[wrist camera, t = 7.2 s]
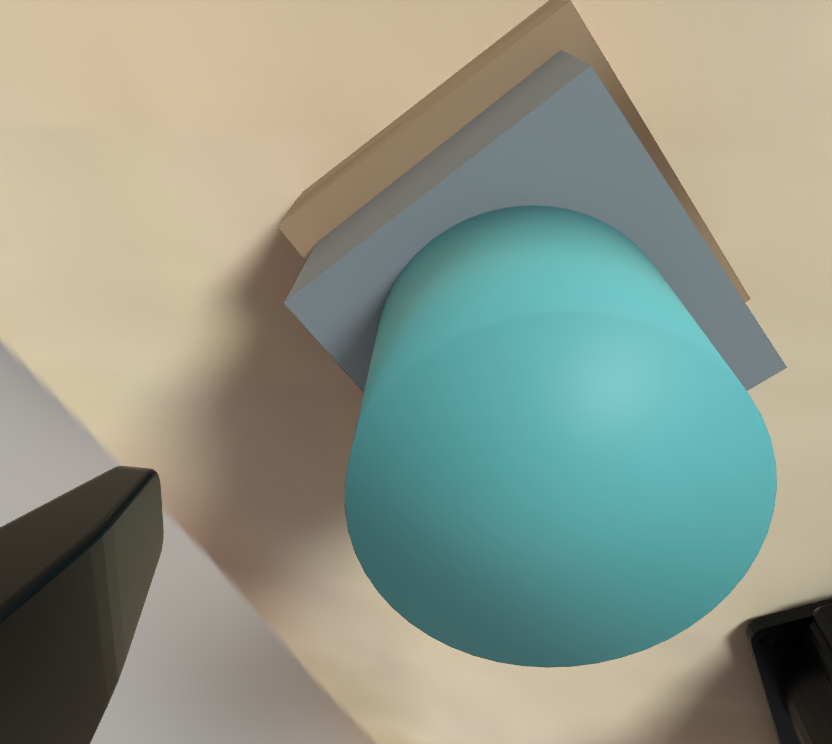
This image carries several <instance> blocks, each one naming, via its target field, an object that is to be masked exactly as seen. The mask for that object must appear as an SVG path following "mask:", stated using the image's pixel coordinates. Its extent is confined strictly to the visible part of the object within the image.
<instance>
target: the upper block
mask: <svg viewBox="0 0 832 744" xmlns="http://www.w3.org/2000/svg"><path fill="white" fill-rule="evenodd" d="M528 205H535V206H553V207H558V208H563V209H569V210H573V211H577V212H580V213H583V214H586V215H589V216H592V217H594V218H596V219H598V220H600V221H602V222H604V223H606V224H608V225H610V226H612V227H613V228H615V229H616V230H618V231H619V232H621V233H622V234H624V235H625V236H627V237H628V238H629V239H630V240H631V241H632V242H633V243H635V244H636V245H637V246H638V247H639V248H640V249H641V250H642V251H643V252H644V253H645V255H646V256H647V257H648V258H649V259H650V261H651V262H652V263H653V264H654V266H655V267H656V268H657V270H658V271H659V272H660V274H661V275H662V277H663V278H664V279H665V281H666V282H667V283H668V285H669V286H670V287H671V289H672V290H673V292H674V293H675V294H676V296H677V297H678V298H679V300H680V301H681V302H682V304H683V305H684V307H685V308H686V309H687V311H688V312H689V313H690V315H691V316H692V317H693V319H694V320H695V321H696V323H697V324H698V326H699V327H700V328H701V330H702V331H703V332H704V334H705V335H706V336H707V338H708V339H709V341H710V342H711V343H712V345H713V346H714V347H715V349H716V350H717V351H718V353H719V354H720V355H721V357H722V358H723V360H724V361H725V362H726V364H727V365H728V366H729V368H730V369H731V370H732V372H733V373H734V375H735V376H736V377H737V379H738V380H739V381H740V383H741V384H742V385H743V387H744V388H745V390H746V391H748V390H749V389H751V388H753V387H754V386H756V385H758V384H760V383H761V382H763V381H765V380H766V379H768V378H770V377H771V376H773V375H775V374H777V373H778V372H780V371H782V370H783V369H785V368H787V367H786V365H785V364H784V362H783V361H782V359H781V358H780V356H779V355H778V353H777V351H776V350H775V348H774V347H773V345H772V344H771V342H770V341H769V339H768V338H767V336H766V334H765V333H764V331H763V330H762V328H761V327H760V325H759V324H758V322H757V321H756V319H755V317H754V316H753V314H752V313H751V311H750V310H749V308H748V307H747V305H746V304H745V302H744V301H743V299H742V297H741V296H740V294H739V293H738V291H737V290H736V288H735V287H734V285H733V284H732V282H731V280H730V279H729V277H728V276H727V274H726V273H725V271H724V270H723V268H722V267H721V265H720V263H719V262H718V260H717V259H716V257H715V256H714V254H713V253H712V251H711V250H710V248H709V247H708V245H707V243H706V242H705V240H704V239H703V237H702V236H701V234H700V233H699V231H698V230H697V228H696V226H695V225H694V223H693V222H692V220H691V219H690V217H689V216H688V214H687V213H686V211H685V209H684V208H683V206H682V205H681V203H680V202H679V200H678V199H677V197H676V196H675V194H674V193H673V191H672V189H671V188H670V186H669V185H668V183H667V182H666V180H665V179H664V177H663V176H662V174H661V172H660V171H659V169H658V168H657V166H656V165H655V163H654V162H653V160H652V159H651V157H650V155H649V154H648V152H647V151H646V149H645V148H644V146H643V145H642V143H641V142H640V140H639V139H638V137H637V135H636V134H635V132H634V131H633V129H632V128H631V126H630V125H629V123H628V122H627V120H626V118H625V117H624V115H623V114H622V112H621V111H620V109H619V108H618V106H617V105H616V103H615V101H614V100H613V98H612V97H611V95H610V94H609V92H608V91H607V89H606V88H605V86H604V85H603V83H602V81H601V80H600V78H599V77H598V75H597V74H596V72H595V71H594V69H593V68H592V66H591V65H589V64H587V63H585V62H583V61H581V60H580V59H578V58H576V57H574V56H572V55H570V54H568V53H566V52H564V51H562V50H560V51H559V52H558V53H556V54H555V55H554V56H553V57H551V58H550V59H549V60H548V61H546V62H545V63H544V64H542V65H541V66H540V67H539V68H537V69H536V70H535V71H534V72H532V73H531V74H530V75H529V76H527V77H526V78H525V79H523V80H522V81H521V82H520V83H518V84H517V85H516V86H515V87H513V88H512V89H511V90H510V91H508V92H507V93H506V94H504V95H503V96H502V97H501V98H499V99H498V100H497V101H496V102H494V103H493V104H492V105H491V106H489V107H488V108H487V109H485V110H484V111H483V112H482V113H480V114H479V115H478V116H477V117H475V118H474V119H473V120H472V121H470V122H469V123H468V124H466V125H465V126H464V127H463V128H461V129H460V130H459V131H458V132H456V133H455V134H454V135H452V136H451V137H450V138H449V139H447V140H446V141H445V142H444V143H442V144H441V145H440V146H439V147H437V148H436V149H435V150H433V151H432V152H431V153H430V154H428V155H427V156H426V157H425V158H423V159H422V160H421V161H420V162H418V163H417V164H416V165H414V166H413V167H412V168H411V169H409V170H408V171H407V172H406V173H404V174H403V175H402V176H401V177H399V178H398V179H397V180H395V181H394V182H393V183H392V184H390V185H389V186H388V187H387V188H385V189H384V190H383V191H382V192H380V193H379V194H378V195H376V196H375V197H374V198H373V199H371V200H370V201H369V202H368V203H366V204H365V205H364V206H363V207H361V208H360V209H359V210H357V211H356V212H355V213H354V214H352V215H351V216H350V217H349V218H347V219H346V220H345V221H344V222H342V223H341V224H340V225H338V226H337V227H336V228H335V229H333V230H332V231H331V232H330V233H328V234H327V235H326V236H325V237H323V238H322V239H321V240H319V241H318V242H317V243H316V244H315V246H314V248H313V250H312V252H311V254H310V255H309V257H308V259H307V261H306V263H305V265H304V266H303V268H302V270H301V272H300V274H299V276H298V278H297V279H296V281H295V283H294V285H293V287H292V289H291V290H290V292H289V294H288V296H287V298H286V300H285V301H284V304H285V305H286V306H287V308H288V309H289V310H290V311H291V312H292V313H293V314H294V315H295V316H296V318H297V319H298V320H299V321H300V322H301V323H302V324H303V325H304V327H305V328H306V329H307V330H308V331H309V332H310V333H311V334H312V335H313V337H314V338H315V339H316V340H317V341H318V342H319V343H320V344H321V345H322V347H323V348H324V349H325V350H326V351H327V352H328V353H329V354H330V356H331V357H332V358H333V359H334V360H335V361H336V362H337V363H338V364H339V366H340V367H341V368H342V369H343V370H344V371H345V372H346V373H347V375H348V376H349V377H350V378H351V379H352V380H353V381H354V382H355V383H356V385H357V386H358V387H359V388H360V389H361V390H362V391H363V392H364V391H365V386H366V382H367V377H368V372H369V368H370V363H371V359H372V354H373V350H374V345H375V341H376V336H377V332H378V327H379V323H380V318H381V315H382V312H383V308H384V305H385V302H386V299H387V297H388V295H389V293H390V291H391V289H392V287H393V285H394V283H395V281H396V280H397V278H398V277H399V275H400V274H401V272H402V271H403V269H404V268H405V266H406V265H407V264H408V263H409V262H410V261H411V259H412V258H413V257H414V256H415V255H416V254H417V253H418V252H419V251H420V250H421V249H422V248H423V247H424V246H425V245H427V244H428V243H429V242H430V241H431V240H432V239H434V238H435V237H437V236H438V235H440V234H441V233H443V232H444V231H446V230H447V229H449V228H450V227H452V226H454V225H456V224H458V223H460V222H462V221H464V220H466V219H468V218H471V217H474V216H477V215H479V214H482V213H485V212H488V211H492V210H497V209H502V208H507V207H515V206H528Z"/></svg>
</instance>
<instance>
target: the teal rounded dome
mask: <svg viewBox="0 0 832 744" xmlns="http://www.w3.org/2000/svg"><path fill="white" fill-rule="evenodd" d="M776 489H777V480H776V461H775V457H774V452H773V447H772V442H771V438H770V436H769V433H768V430H767V428H766V425H765V423H764V420H763V418H762V415H761V414H760V412H759V410H758V409H757V407H756V405H755V404H754V402H753V400H752V399H751V397H750V395H749V394H748V392H747V391H746V390H745V388H744V387H743V385H742V384H741V383H740V381H739V380H738V379H737V377H736V376H735V375H734V373H733V372H732V370H731V369H730V368H729V366H728V365H727V364H726V362H725V361H724V360H723V358H722V357H721V355H720V354H719V353H718V351H717V350H716V349H715V347H714V346H713V345H712V343H711V342H710V341H709V339H708V338H707V336H706V335H705V334H704V332H703V331H702V330H701V328H700V327H699V326H698V324H697V323H696V321H695V320H694V319H693V317H692V316H691V315H690V313H689V312H688V311H687V309H686V308H685V307H684V305H683V304H682V302H681V301H680V300H679V298H678V297H677V296H676V294H675V293H674V292H673V290H672V289H671V287H670V286H669V285H668V283H667V282H666V281H665V279H664V278H663V277H662V275H661V274H660V272H659V271H658V270H657V268H656V267H655V266H654V264H653V263H652V262H651V261H650V259H649V258H648V257H647V256H646V255H645V253H644V252H643V251H642V250H641V249H640V248H639V247H638V246H637V245H636V244H635V243H633V242H632V241H631V240H630V239H629V238H628V237H627V236H625V235H624V234H622V233H621V232H619V231H618V230H616V229H615V228H613V227H612V226H610V225H608V224H606V223H604V222H602V221H600V220H598V219H596V218H594V217H592V216H589V215H586V214H583V213H580V212H577V211H573V210H569V209H563V208H558V207H553V206H535V205H528V206H515V207H507V208H502V209H497V210H492V211H488V212H485V213H482V214H479V215H477V216H474V217H471V218H468V219H466V220H464V221H462V222H460V223H458V224H456V225H454V226H452V227H450V228H449V229H447V230H446V231H444V232H443V233H441V234H440V235H438V236H437V237H435V238H434V239H432V240H431V241H430V242H429V243H428V244H427V245H425V246H424V247H423V248H422V249H421V250H420V251H419V252H418V253H417V254H416V255H415V256H414V257H413V258H412V259H411V261H410V262H409V263H408V264H407V265H406V266H405V268H404V269H403V271H402V272H401V274H400V275H399V277H398V278H397V280H396V281H395V283H394V285H393V287H392V289H391V291H390V293H389V295H388V297H387V299H386V302H385V305H384V308H383V312H382V315H381V318H380V323H379V327H378V332H377V336H376V341H375V345H374V350H373V354H372V359H371V363H370V368H369V372H368V377H367V382H366V386H365V391H364V395H363V400H362V404H361V409H360V413H359V418H358V422H357V427H356V431H355V436H354V441H353V445H352V450H351V454H350V459H349V463H348V470H347V476H346V482H345V513H346V520H347V526H348V532H349V535H350V538H351V541H352V545H353V548H354V551H355V554H356V556H357V558H358V560H359V562H360V564H361V566H362V568H363V570H364V572H365V574H366V575H367V577H368V578H369V579H370V581H371V582H372V584H373V585H374V587H375V588H376V590H377V591H378V592H379V593H380V595H381V596H382V597H383V598H384V599H385V600H386V601H387V602H388V603H389V604H390V606H391V607H392V608H393V609H394V610H396V611H397V612H398V613H399V614H400V615H401V616H403V617H404V618H405V619H406V620H407V621H408V622H410V623H411V624H412V625H414V626H415V627H417V628H418V629H420V630H421V631H423V632H424V633H426V634H427V635H429V636H431V637H432V638H434V639H436V640H438V641H440V642H442V643H444V644H446V645H448V646H450V647H452V648H455V649H458V650H460V651H463V652H466V653H468V654H471V655H473V656H477V657H481V658H485V659H488V660H492V661H496V662H501V663H507V664H514V665H520V666H533V667H571V666H579V665H587V664H594V663H600V662H604V661H609V660H613V659H617V658H622V657H625V656H628V655H631V654H634V653H636V652H639V651H642V650H645V649H648V648H650V647H652V646H654V645H657V644H659V643H661V642H663V641H665V640H668V639H670V638H671V637H673V636H675V635H676V634H678V633H680V632H682V631H683V630H685V629H687V628H688V627H690V626H692V625H693V624H694V623H696V622H697V621H698V620H700V619H701V618H702V617H704V616H705V615H706V614H708V613H709V612H710V611H712V610H713V609H714V608H715V607H716V606H717V605H718V604H719V603H720V602H721V601H722V600H723V599H724V598H725V597H727V596H728V595H729V594H730V592H731V591H732V590H733V589H734V588H735V586H736V585H737V584H738V583H739V582H740V580H741V579H742V578H743V577H744V575H745V574H746V572H747V571H748V569H749V568H750V566H751V564H752V563H753V561H754V560H755V558H756V557H757V555H758V553H759V551H760V548H761V546H762V544H763V542H764V540H765V537H766V535H767V533H768V529H769V526H770V522H771V519H772V515H773V512H774V505H775V497H776Z"/></svg>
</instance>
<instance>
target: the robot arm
mask: <svg viewBox="0 0 832 744" xmlns="http://www.w3.org/2000/svg"><path fill="white" fill-rule="evenodd" d="M162 544H163V516H162V501H161V485H160V479H159V476H158V474H157V472H156V471H155V470H153V469H148V468H138V467H127V466H117V467H115V468H113V469H111V470H109V471H107V472H105V473H103V474H101V475H99V476H97V477H95V478H93V479H92V480H90V481H88V482H86V483H84V484H82V485H80V486H78V487H76V488H74V489H73V490H71V491H69V492H67V493H65V494H63V495H61V496H59V497H57V498H55V499H53V500H52V501H50V502H48V503H46V504H44V505H42V506H40V507H38V508H37V509H34V510H33V511H31V512H29V513H27V514H25V515H23V516H21V517H19V518H17V519H15V520H14V521H12V522H10V523H8V524H6V525H4V526H2V527H0V744H90V742H91V740H92V738H93V736H94V734H95V732H96V729H97V727H98V725H99V723H100V721H101V719H102V716H103V714H104V712H105V710H106V708H107V706H108V704H109V701H110V699H111V696H112V694H113V692H114V690H115V687H116V685H117V683H118V680H119V677H120V674H121V671H122V669H123V666H124V663H125V660H126V657H127V654H128V651H129V648H130V645H131V642H132V639H133V636H134V633H135V630H136V627H137V624H138V621H139V618H140V615H141V612H142V609H143V606H144V603H145V600H146V597H147V594H148V591H149V588H150V584H151V582H152V579H153V576H154V573H155V569H156V566H157V563H158V560H159V557H160V553H161V550H162ZM765 634H769V635H767V636H762V635H765ZM761 636H762V637H761ZM747 638H748V641H749V644H750V648H751V651H752V655H753V658H754V661H755V665H756V668H757V672H758V675H759V678H760V682H761V685H762V689H763V692H764V695H765V699H766V702H767V706H768V709H769V712H770V716H771V719H772V722H773V726H774V729H775V733H776V736H777V739H778V743H779V744H832V600H829V601H825V602H821V603H817V604H814V605H810V606H806V607H802V608H798V609H794V610H790V611H786V612H783V613H779V614H775V615H771V616H767V617H763V618H759V619H757V620H755V621H753V622H752V623H751V624H749V626H748V628H747Z"/></svg>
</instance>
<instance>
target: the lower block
mask: <svg viewBox="0 0 832 744" xmlns="http://www.w3.org/2000/svg"><path fill="white" fill-rule="evenodd" d="M560 50H562V51H564V52H566V53H568V54H570V55H572V56H574V57H576V58H578V59H580V60H581V61H583V62H585V63H587V64H589V65H591V66H592V68H593V69H594V71H595V72H596V74H597V75H598V77H599V78H600V80H601V81H602V83H603V85H604V86H605V88H606V89H607V91H608V92H609V94H610V95H611V97H612V98H613V100H614V101H615V103H616V105H617V106H618V108H619V109H620V111H621V112H622V114H623V115H624V117H625V118H626V120H627V122H628V123H629V125H630V126H631V128H632V129H633V131H634V132H635V134H636V135H637V137H638V139H639V140H640V142H641V143H642V145H643V146H644V148H645V149H646V151H647V152H648V154H649V155H650V157H651V159H652V160H653V162H654V163H655V165H656V166H657V168H658V169H659V171H660V172H661V174H662V176H663V177H664V179H665V180H666V182H667V183H668V185H669V186H670V188H671V189H672V191H673V193H674V194H675V196H676V197H677V199H678V200H679V202H680V203H681V205H682V206H683V208H684V209H685V211H686V213H687V214H688V216H689V217H690V219H691V220H692V222H693V223H694V225H695V226H696V228H697V230H698V231H699V233H700V234H701V236H702V237H703V239H704V240H705V242H706V243H707V245H708V247H709V248H710V250H711V251H712V253H713V254H714V256H715V257H716V259H717V260H718V262H719V263H720V265H721V267H722V268H723V270H724V271H725V273H726V274H727V276H728V277H729V279H730V280H731V282H732V284H733V285H734V287H735V288H736V290H737V291H738V293H739V294H740V296H741V297H742V299H743V301H744V302H747V301H748V300H750V297H749V296H748V294H747V292H746V291H745V289H744V287H743V286H742V284H741V282H740V281H739V279H738V277H737V276H736V274H735V272H734V271H733V269H732V267H731V266H730V264H729V262H728V261H727V259H726V258H725V256H724V254H723V253H722V251H721V249H720V248H719V246H718V244H717V243H716V241H715V239H714V238H713V236H712V234H711V233H710V231H709V229H708V228H707V226H706V224H705V223H704V221H703V219H702V218H701V216H700V214H699V213H698V211H697V209H696V208H695V206H694V204H693V203H692V201H691V199H690V198H689V196H688V194H687V193H686V191H685V189H684V188H683V186H682V185H681V183H680V181H679V180H678V178H677V176H676V175H675V173H674V171H673V170H672V168H671V166H670V165H669V163H668V161H667V160H666V158H665V156H664V155H663V153H662V151H661V150H660V148H659V146H658V145H657V143H656V141H655V140H654V138H653V136H652V135H651V133H650V131H649V130H648V128H647V126H646V125H645V123H644V121H643V120H642V118H641V116H640V115H639V113H638V111H637V110H636V108H635V107H634V105H633V103H632V102H631V100H630V98H629V97H628V95H627V93H626V92H625V90H624V88H623V87H622V85H621V83H620V82H619V80H618V78H617V77H616V75H615V73H614V72H613V70H612V68H611V67H610V65H609V63H608V62H607V60H606V58H605V57H604V55H603V53H602V52H601V50H600V48H599V47H598V45H597V43H596V42H595V40H594V38H593V37H592V35H591V34H590V32H589V30H588V29H587V27H586V25H585V24H584V22H583V20H582V19H581V17H580V15H579V14H578V12H577V10H576V9H575V7H574V5H573V4H572V2H571V1H570V0H549V1H548V2H547V3H545V4H544V5H543V6H541V7H540V8H539V9H538V10H536V11H535V12H534V13H532V14H531V15H530V16H529V17H527V18H526V19H525V20H523V21H522V22H521V23H520V24H518V25H517V26H516V27H514V28H513V29H512V30H511V31H509V32H508V33H507V34H505V35H504V36H503V37H502V38H500V39H499V40H498V41H496V42H495V43H494V44H493V45H491V46H490V47H489V48H487V49H486V50H485V51H484V52H482V53H481V54H480V55H478V56H477V57H476V58H475V59H473V60H472V61H471V62H469V63H468V64H467V65H466V66H464V67H463V68H462V69H460V70H459V71H458V72H457V73H455V74H454V75H453V76H451V77H450V78H449V79H448V80H446V81H445V82H444V83H442V84H441V85H440V86H439V87H437V88H436V89H435V90H433V91H432V92H431V93H430V94H428V95H427V96H426V97H424V98H423V99H422V100H421V101H419V102H418V103H417V104H415V105H414V106H413V107H412V108H410V109H409V110H408V111H406V112H405V113H404V114H403V115H401V116H400V117H399V118H397V119H396V120H395V121H394V122H392V123H391V124H390V125H388V126H387V127H386V128H385V129H383V130H382V131H381V132H379V133H378V134H377V135H376V136H374V137H373V138H372V139H370V140H369V141H368V142H367V143H365V144H364V145H363V146H361V147H360V148H359V149H358V150H356V151H355V152H354V153H352V154H351V155H350V156H349V157H347V158H346V159H345V160H343V161H342V162H341V163H340V164H338V165H337V166H336V167H334V168H333V169H332V170H331V171H329V172H328V173H327V174H325V175H324V176H323V177H322V178H320V179H319V180H318V181H316V182H315V183H314V184H313V185H311V186H310V187H309V188H307V189H306V190H305V191H304V192H303V193H302V194H301V195H300V197H299V198H298V199H297V201H296V202H295V203H294V205H293V206H292V207H291V209H290V210H289V211H288V213H287V214H286V215H285V217H284V218H283V219H282V221H281V222H280V223H279V225H278V226H277V227H278V228H279V229H280V231H281V232H282V233H283V234H284V235H285V237H286V238H287V239H288V240H289V242H290V243H291V244H292V245H293V246H294V248H295V249H296V250H297V251H298V252H299V254H300V255H301V256H302V257H303V258H304V260H305V261H307V259H308V257H309V255H310V254H311V252H312V250H313V248H314V246H315V244H316V243H317V242H318V241H319V240H321V239H322V238H323V237H325V236H326V235H327V234H328V233H330V232H331V231H332V230H333V229H335V228H336V227H337V226H338V225H340V224H341V223H342V222H344V221H345V220H346V219H347V218H349V217H350V216H351V215H352V214H354V213H355V212H356V211H357V210H359V209H360V208H361V207H363V206H364V205H365V204H366V203H368V202H369V201H370V200H371V199H373V198H374V197H375V196H376V195H378V194H379V193H380V192H382V191H383V190H384V189H385V188H387V187H388V186H389V185H390V184H392V183H393V182H394V181H395V180H397V179H398V178H399V177H401V176H402V175H403V174H404V173H406V172H407V171H408V170H409V169H411V168H412V167H413V166H414V165H416V164H417V163H418V162H420V161H421V160H422V159H423V158H425V157H426V156H427V155H428V154H430V153H431V152H432V151H433V150H435V149H436V148H437V147H439V146H440V145H441V144H442V143H444V142H445V141H446V140H447V139H449V138H450V137H451V136H452V135H454V134H455V133H456V132H458V131H459V130H460V129H461V128H463V127H464V126H465V125H466V124H468V123H469V122H470V121H472V120H473V119H474V118H475V117H477V116H478V115H479V114H480V113H482V112H483V111H484V110H485V109H487V108H488V107H489V106H491V105H492V104H493V103H494V102H496V101H497V100H498V99H499V98H501V97H502V96H503V95H504V94H506V93H507V92H508V91H510V90H511V89H512V88H513V87H515V86H516V85H517V84H518V83H520V82H521V81H522V80H523V79H525V78H526V77H527V76H529V75H530V74H531V73H532V72H534V71H535V70H536V69H537V68H539V67H540V66H541V65H542V64H544V63H545V62H546V61H548V60H549V59H550V58H551V57H553V56H554V55H555V54H556V53H558V52H559V51H560Z"/></svg>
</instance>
